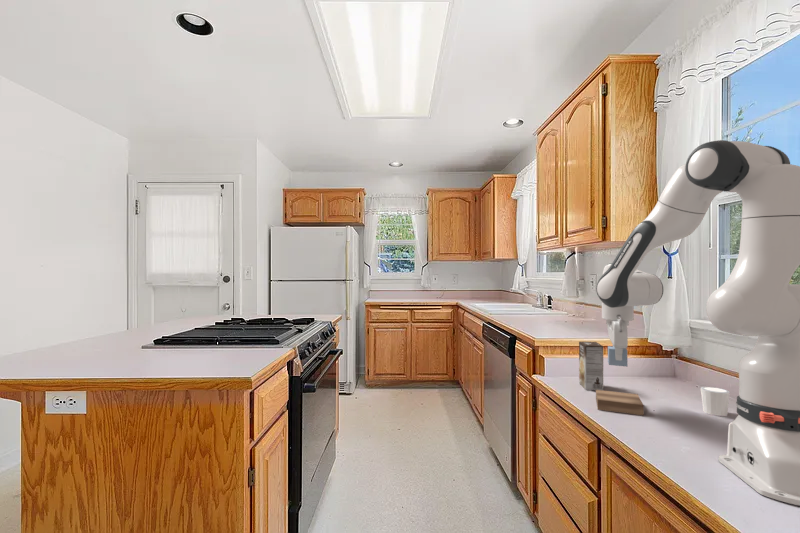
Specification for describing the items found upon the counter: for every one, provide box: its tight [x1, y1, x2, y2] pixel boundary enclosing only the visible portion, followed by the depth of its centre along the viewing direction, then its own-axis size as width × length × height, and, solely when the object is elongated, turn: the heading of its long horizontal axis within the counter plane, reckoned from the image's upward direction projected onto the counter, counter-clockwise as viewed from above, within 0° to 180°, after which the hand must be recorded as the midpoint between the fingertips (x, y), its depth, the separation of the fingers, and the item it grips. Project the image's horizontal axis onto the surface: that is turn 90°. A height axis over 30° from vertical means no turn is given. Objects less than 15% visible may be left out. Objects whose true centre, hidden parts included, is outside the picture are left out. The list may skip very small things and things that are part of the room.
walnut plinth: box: [595, 389, 645, 416], centre depth 123 cm, size 12×12×3 cm
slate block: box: [607, 345, 628, 367], centre depth 124 cm, size 5×5×5 cm
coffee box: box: [578, 341, 604, 391], centre depth 145 cm, size 9×6×16 cm
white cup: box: [700, 386, 731, 417], centre depth 118 cm, size 7×7×7 cm
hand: (617, 358), depth 124 cm, fingers closed on slate block, 5 cm apart
